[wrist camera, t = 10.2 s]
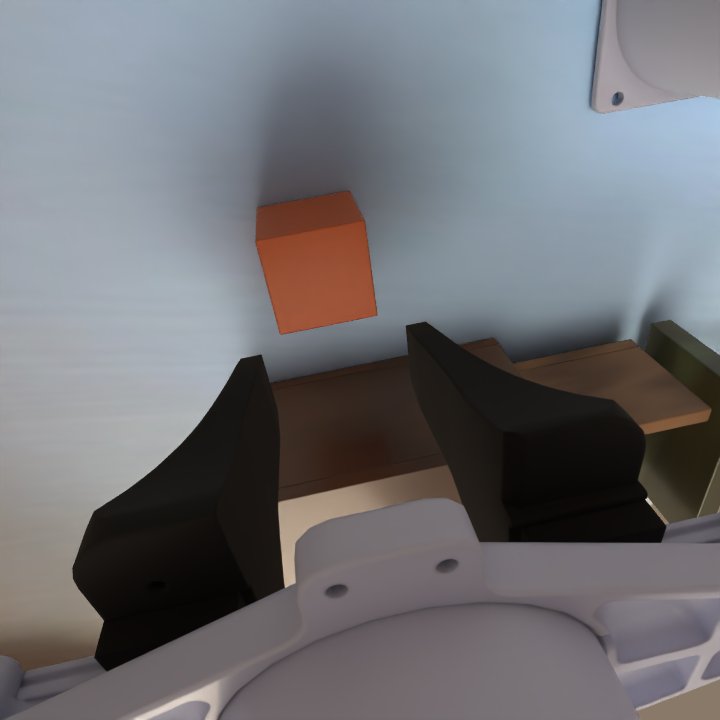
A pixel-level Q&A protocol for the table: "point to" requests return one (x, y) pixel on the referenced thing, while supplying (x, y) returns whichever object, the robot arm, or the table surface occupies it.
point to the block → (316, 262)
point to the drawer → (655, 409)
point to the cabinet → (358, 444)
